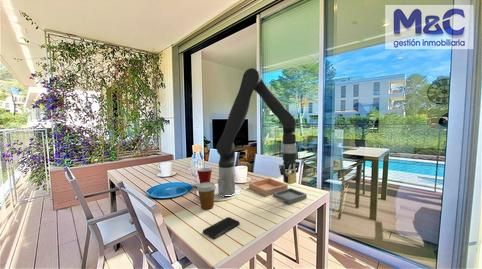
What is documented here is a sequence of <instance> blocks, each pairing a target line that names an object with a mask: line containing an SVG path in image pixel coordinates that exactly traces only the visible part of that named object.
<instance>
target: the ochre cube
mask: <svg viewBox="0 0 482 269" xmlns="http://www.w3.org/2000/svg"><path fill="white" fill-rule="evenodd" d="M282 177H283V182H282V183H285V182H284V176H283V175H282ZM286 184H288V185H293V184H297V173H296V174H295V173H292V172H291V171H290V172H289V173H288V183H286Z"/></svg>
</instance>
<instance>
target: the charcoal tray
mask: <svg viewBox="0 0 482 269" xmlns="http://www.w3.org/2000/svg"><path fill="white" fill-rule="evenodd" d="M272 196H273V197H275V198H277V199H279V200H282V201H284V202H283V203H285V204H287V205H292V204H294V203H296V202H299V201H300V202H301V201H302V200H306V199H307V197H308V196H307V193H305V192H302V191H301V190H297V189H294V188H291V187H289V188H288V189H285V190H282V191H279V192H276V193H273V194H272Z"/></svg>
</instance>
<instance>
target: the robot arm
mask: <svg viewBox="0 0 482 269" xmlns="http://www.w3.org/2000/svg"><path fill="white" fill-rule="evenodd" d="M238 90H239V91H237V95H236V97H235V98H234V99H235V100H234V102H233V103H232V104H233V105H232V106H231V108H230V112H229V114H228V118H227V120H226V123H225V127H224V130H223V133H222V135H221V136H220V138H219V140H218V142H217V144H216V152H217V154H218V155H219V161H218V177H219V178H217V189H218V190H217V191H218V192H217V194H218V195H219V194H220V195H222V196H225V195H232V194H234V193H235V194H236V178H235V160H236V148H235V143H234V141H235V138H236V136H237V134H238V132H239V131H240V129H241V128H242V127H243V126H242V125H244V123H245V120H246V117H247V115H248V112H249V108H250V103H251V98H252V95H253V92H254V91H255V92H256V93H257V94H258V96H260V98H261V100H263V102H264V104H265V105H266V106H267V108H268V109H269V110H270V111H271V113H273V115H274V116H276V117H277V119H278V121H279V122H280V123H281V125H282V161H283V163H282V164H279V165H278V167H279V172H280V175H281V176H282V177H283V176H284V182H283V183H285V184H287V183H288V173H289V172H292V173H295V174H296V175H297V173H299V171H300V170H299V168H300V162H299V161H297V144H296V143H297V135H296V124H297V120H296V117H294V115H292V113H291V112H290V111H289V110H288V109H287V108H286V106H285V105H284V104H283V103H282V101H281V100H280V99H279V98H278V97H277V96H276V95H275V94H274V93H273V92H272V91H271V90H270V89H269V87H268V86H267V85H266V84H265V82H264V80H263V78H262V76H261V74H260V72H259V71H258V70H257V69H256V68H255V67H253V68H252V67H250V68H248V69H246V70H245V71H244V73H243V74H242V79H241V82H240V87H239V89H238ZM220 195H219V196H220ZM222 196H221V197H222Z"/></svg>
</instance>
